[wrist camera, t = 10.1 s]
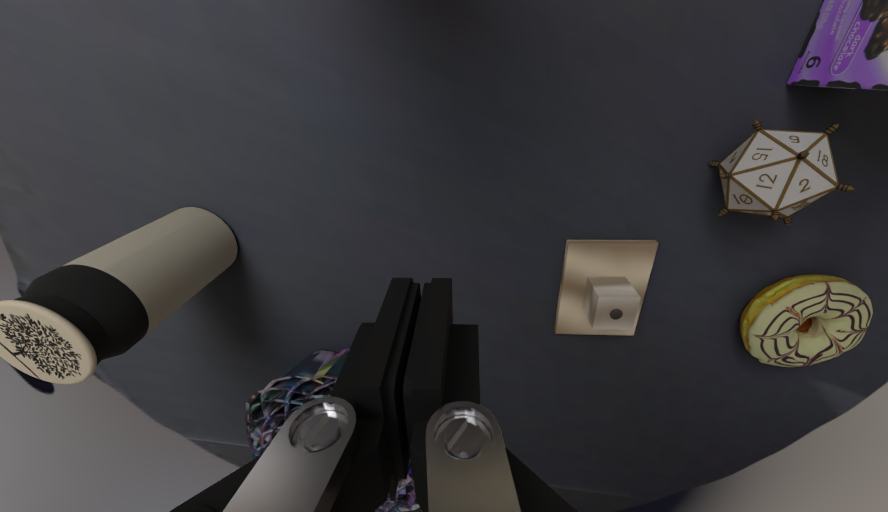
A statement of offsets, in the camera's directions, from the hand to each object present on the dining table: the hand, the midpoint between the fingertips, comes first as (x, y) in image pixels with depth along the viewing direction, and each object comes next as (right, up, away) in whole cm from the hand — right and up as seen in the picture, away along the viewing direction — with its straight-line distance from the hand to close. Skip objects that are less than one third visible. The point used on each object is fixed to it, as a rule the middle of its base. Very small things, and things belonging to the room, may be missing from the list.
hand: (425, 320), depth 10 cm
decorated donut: (+39, -4, +30) cm, 50 cm away
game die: (+28, +11, +23) cm, 38 cm away
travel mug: (-27, +4, +31) cm, 41 cm away
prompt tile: (+18, -2, +30) cm, 35 cm away
